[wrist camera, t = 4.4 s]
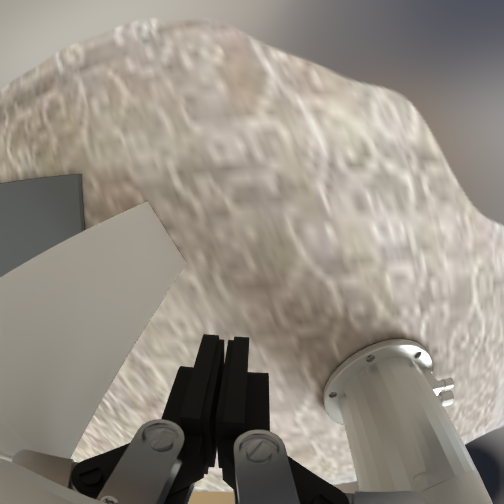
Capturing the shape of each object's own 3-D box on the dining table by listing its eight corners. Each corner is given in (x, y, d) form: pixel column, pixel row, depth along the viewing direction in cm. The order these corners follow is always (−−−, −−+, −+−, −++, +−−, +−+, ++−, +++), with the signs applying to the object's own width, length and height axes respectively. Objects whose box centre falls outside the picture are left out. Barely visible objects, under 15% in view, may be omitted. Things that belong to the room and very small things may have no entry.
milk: (98, 236, 23) (-111, 393, 2) (149, 199, 22) (-129, 369, 1) (136, 294, 25) (-16, 505, 4) (189, 263, 23) (32, 542, 2)
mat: (81, 173, 21) (77, 174, 21) (97, 310, 25) (94, 313, 25) (-43, 191, 22) (-46, 192, 21) (-28, 284, 26) (-30, 285, 25)
